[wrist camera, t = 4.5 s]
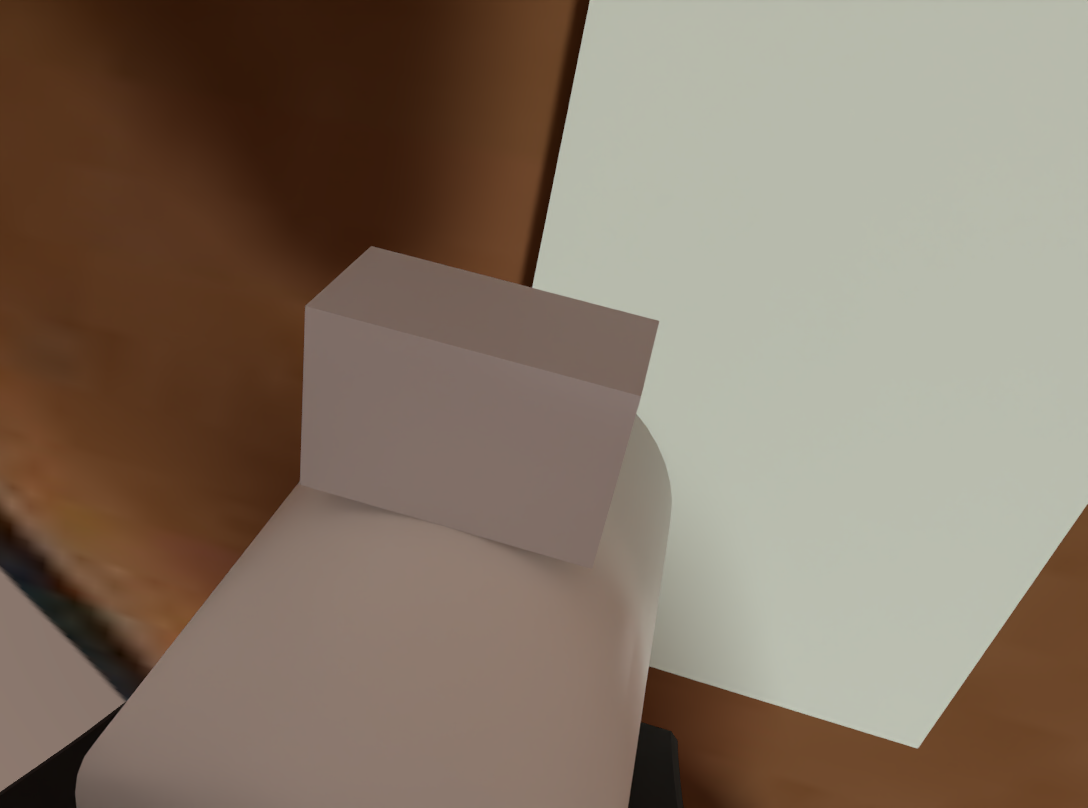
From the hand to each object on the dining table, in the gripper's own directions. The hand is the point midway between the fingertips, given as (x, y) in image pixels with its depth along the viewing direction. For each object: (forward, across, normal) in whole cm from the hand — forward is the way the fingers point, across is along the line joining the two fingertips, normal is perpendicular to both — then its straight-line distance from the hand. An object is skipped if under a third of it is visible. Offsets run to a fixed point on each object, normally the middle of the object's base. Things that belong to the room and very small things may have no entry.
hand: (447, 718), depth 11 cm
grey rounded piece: (+1, 0, 0) cm, 1 cm away
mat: (+8, -4, -1) cm, 10 cm away
